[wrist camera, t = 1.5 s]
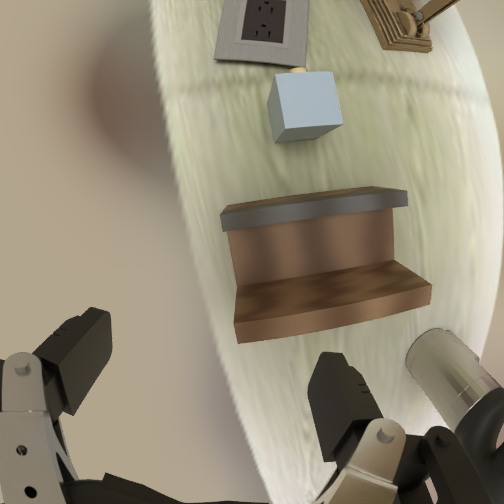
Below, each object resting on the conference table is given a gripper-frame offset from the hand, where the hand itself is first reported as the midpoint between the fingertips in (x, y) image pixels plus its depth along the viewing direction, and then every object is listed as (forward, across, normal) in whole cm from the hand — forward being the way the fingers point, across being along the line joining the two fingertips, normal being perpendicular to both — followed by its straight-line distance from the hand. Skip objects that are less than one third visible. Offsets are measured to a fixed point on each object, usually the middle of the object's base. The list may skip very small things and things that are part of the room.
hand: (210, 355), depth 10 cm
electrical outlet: (+25, +2, -27) cm, 37 cm away
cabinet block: (+24, -4, -14) cm, 29 cm away
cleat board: (+24, -9, -1) cm, 26 cm away
